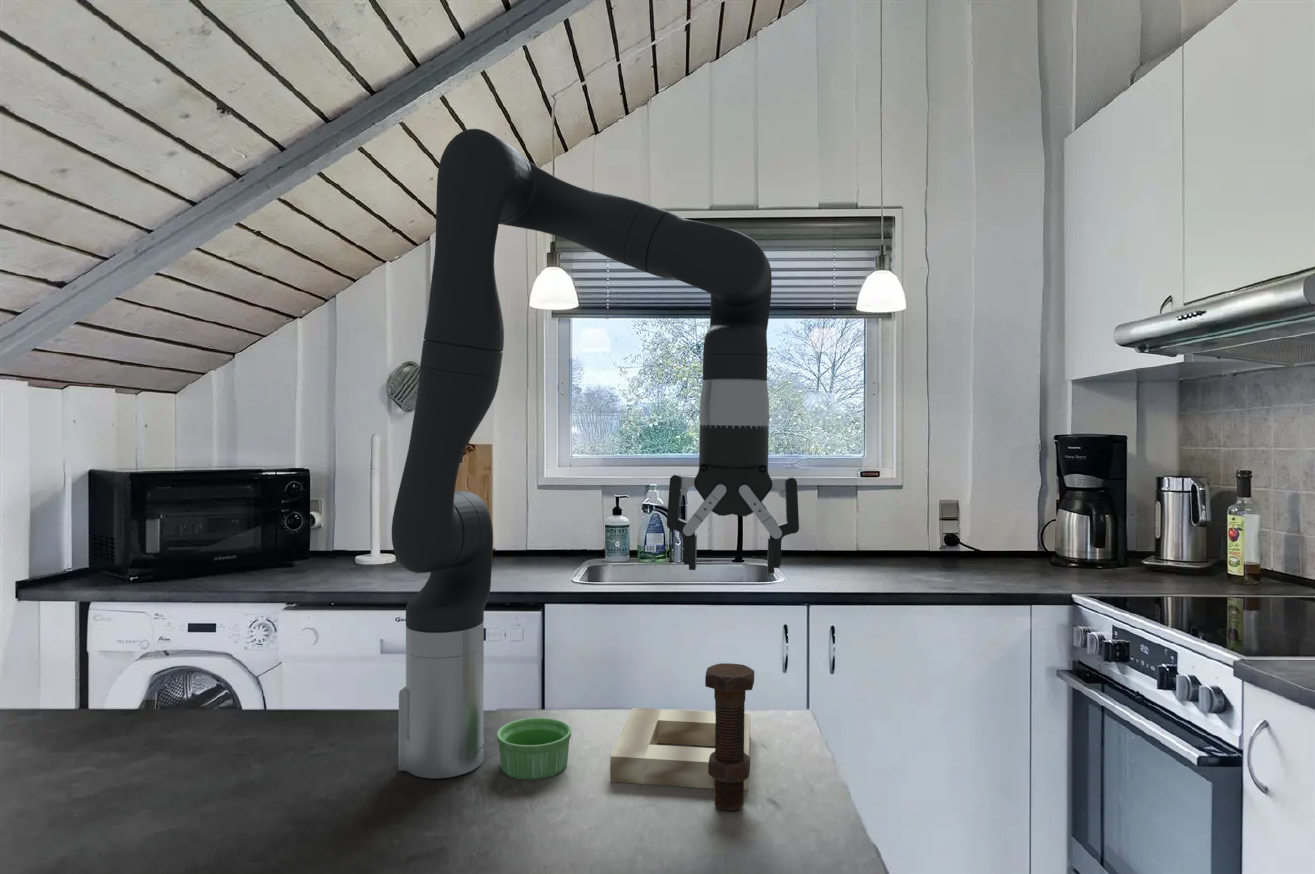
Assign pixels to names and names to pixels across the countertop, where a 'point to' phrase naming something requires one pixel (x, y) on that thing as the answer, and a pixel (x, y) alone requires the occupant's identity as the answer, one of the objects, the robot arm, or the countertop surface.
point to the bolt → (729, 733)
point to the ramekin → (534, 748)
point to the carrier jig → (668, 748)
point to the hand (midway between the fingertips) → (731, 570)
